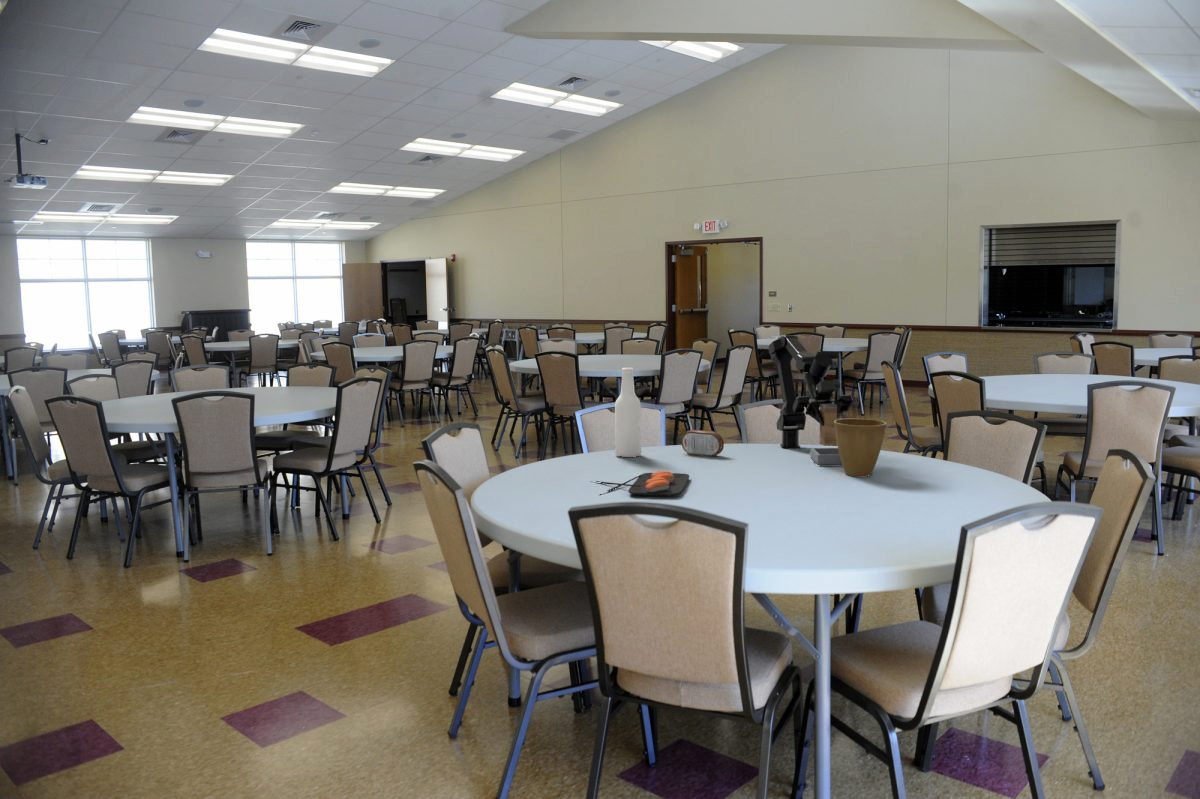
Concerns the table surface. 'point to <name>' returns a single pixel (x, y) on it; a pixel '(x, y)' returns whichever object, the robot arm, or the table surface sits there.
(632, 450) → the alcohol
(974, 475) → the table surface
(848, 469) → the plant pot
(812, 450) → the box
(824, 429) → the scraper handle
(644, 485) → the sushi plate
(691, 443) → the tin
